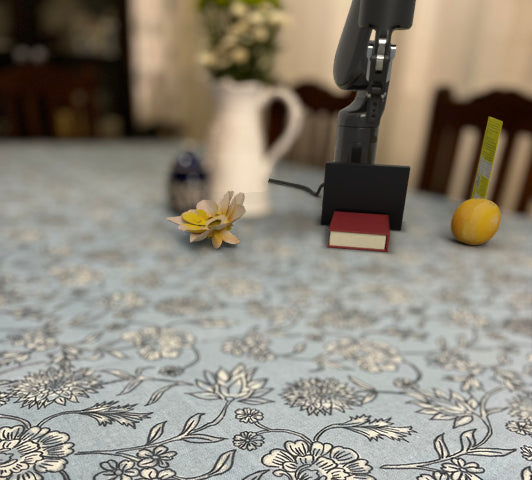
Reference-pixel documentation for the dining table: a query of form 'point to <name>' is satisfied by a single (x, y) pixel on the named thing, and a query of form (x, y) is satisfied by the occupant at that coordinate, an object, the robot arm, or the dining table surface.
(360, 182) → the bookend
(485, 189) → the food package
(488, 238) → the fruit
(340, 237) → the book
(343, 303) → the dining table surface
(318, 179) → the dining table surface
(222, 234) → the decorative flower
